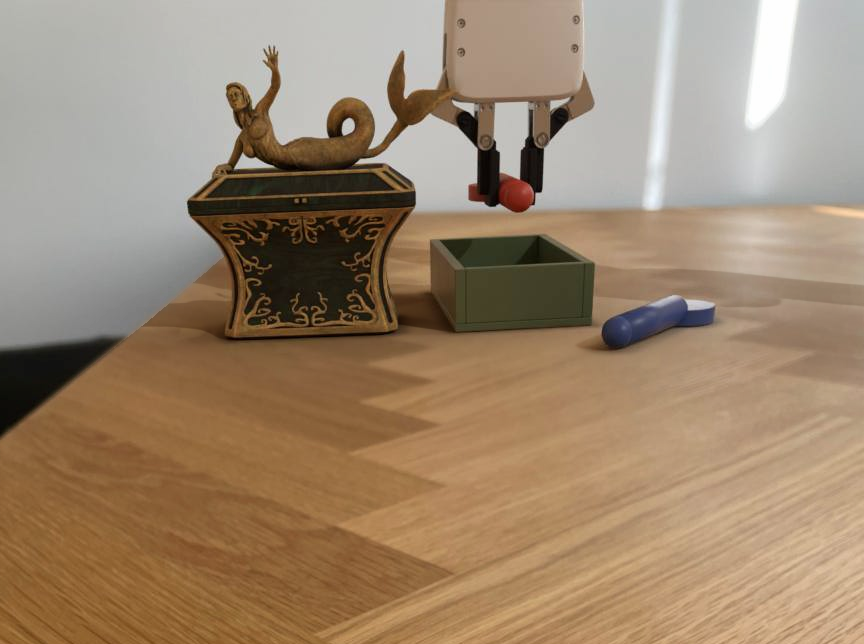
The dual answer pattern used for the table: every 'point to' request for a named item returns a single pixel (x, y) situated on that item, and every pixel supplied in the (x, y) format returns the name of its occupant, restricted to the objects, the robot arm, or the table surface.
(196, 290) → the table surface
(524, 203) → the red spoon
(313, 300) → the decorative box
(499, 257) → the bin
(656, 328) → the blue spoon
